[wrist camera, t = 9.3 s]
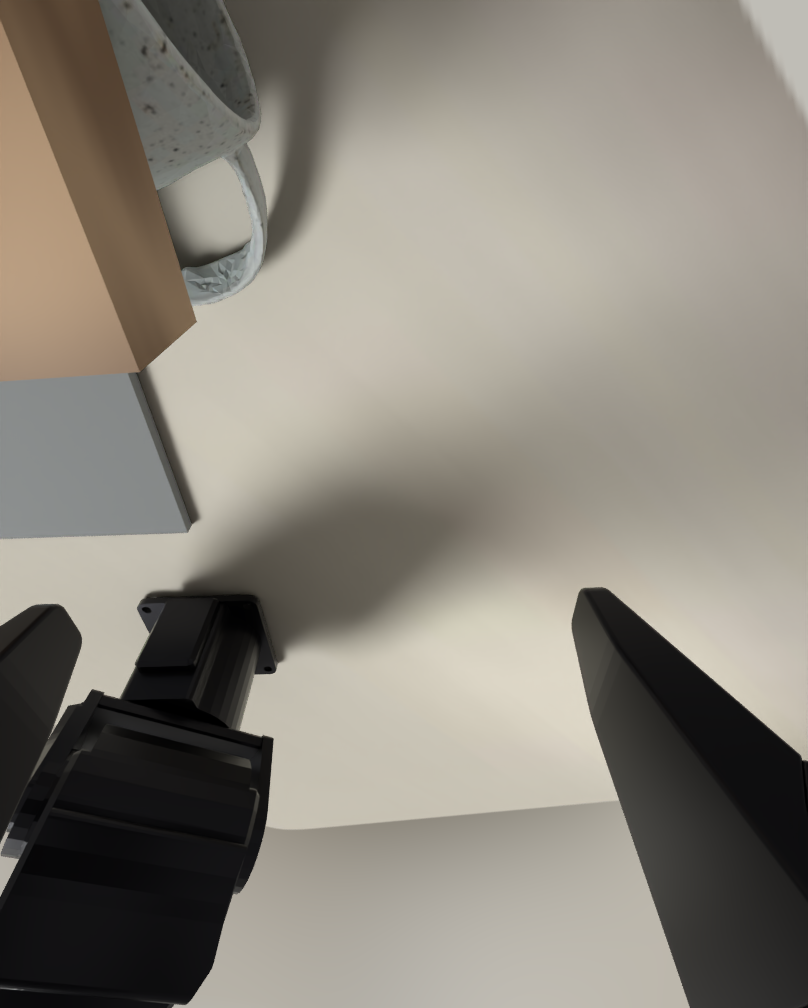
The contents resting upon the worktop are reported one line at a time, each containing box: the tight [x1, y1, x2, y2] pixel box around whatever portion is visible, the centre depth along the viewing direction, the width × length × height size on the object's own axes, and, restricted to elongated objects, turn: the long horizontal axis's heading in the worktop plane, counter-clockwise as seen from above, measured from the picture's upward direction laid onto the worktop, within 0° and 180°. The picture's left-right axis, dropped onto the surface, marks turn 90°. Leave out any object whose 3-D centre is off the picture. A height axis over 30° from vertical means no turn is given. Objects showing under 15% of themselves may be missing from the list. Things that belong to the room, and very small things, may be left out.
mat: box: [0, 372, 192, 539], centre depth 20 cm, size 12×12×1 cm
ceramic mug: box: [98, 0, 268, 306], centre depth 12 cm, size 11×8×8 cm
